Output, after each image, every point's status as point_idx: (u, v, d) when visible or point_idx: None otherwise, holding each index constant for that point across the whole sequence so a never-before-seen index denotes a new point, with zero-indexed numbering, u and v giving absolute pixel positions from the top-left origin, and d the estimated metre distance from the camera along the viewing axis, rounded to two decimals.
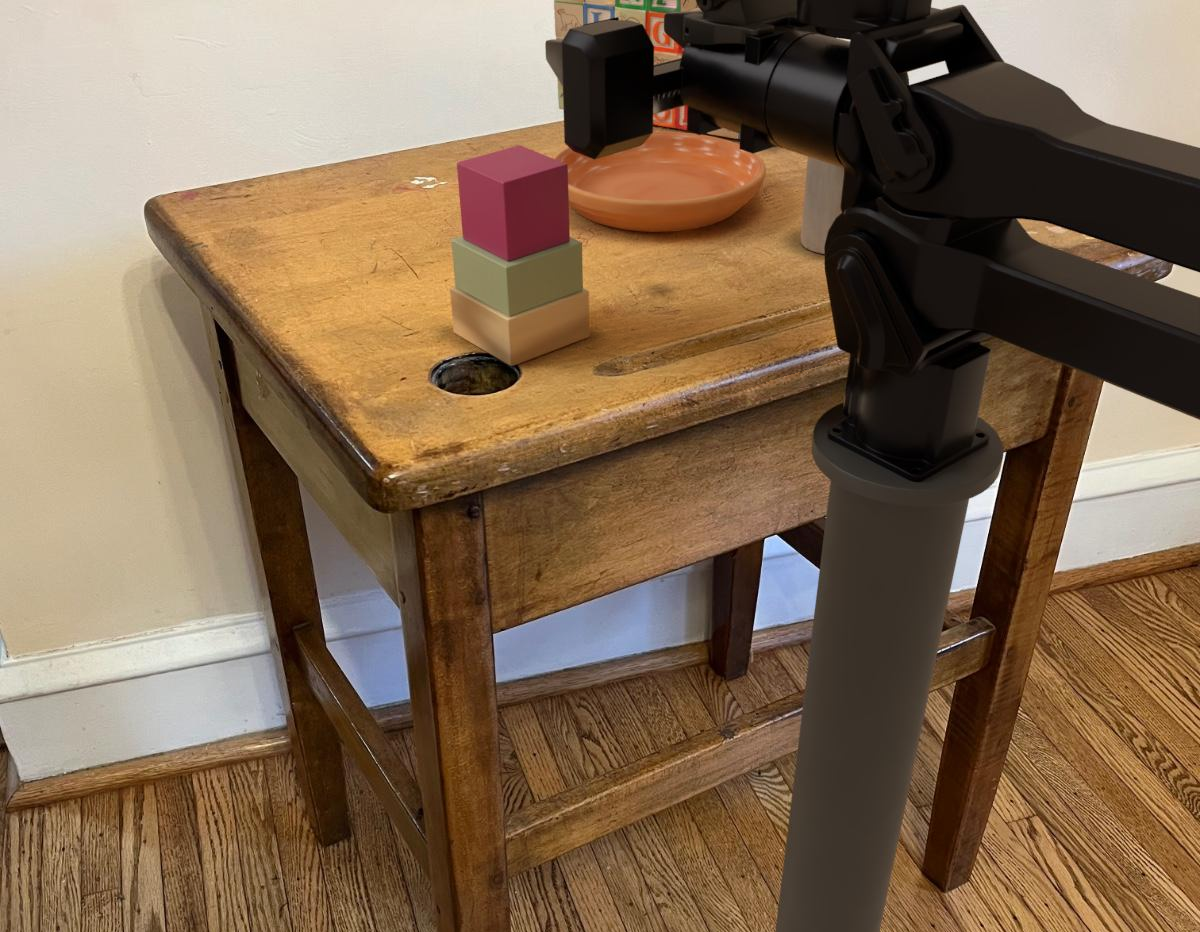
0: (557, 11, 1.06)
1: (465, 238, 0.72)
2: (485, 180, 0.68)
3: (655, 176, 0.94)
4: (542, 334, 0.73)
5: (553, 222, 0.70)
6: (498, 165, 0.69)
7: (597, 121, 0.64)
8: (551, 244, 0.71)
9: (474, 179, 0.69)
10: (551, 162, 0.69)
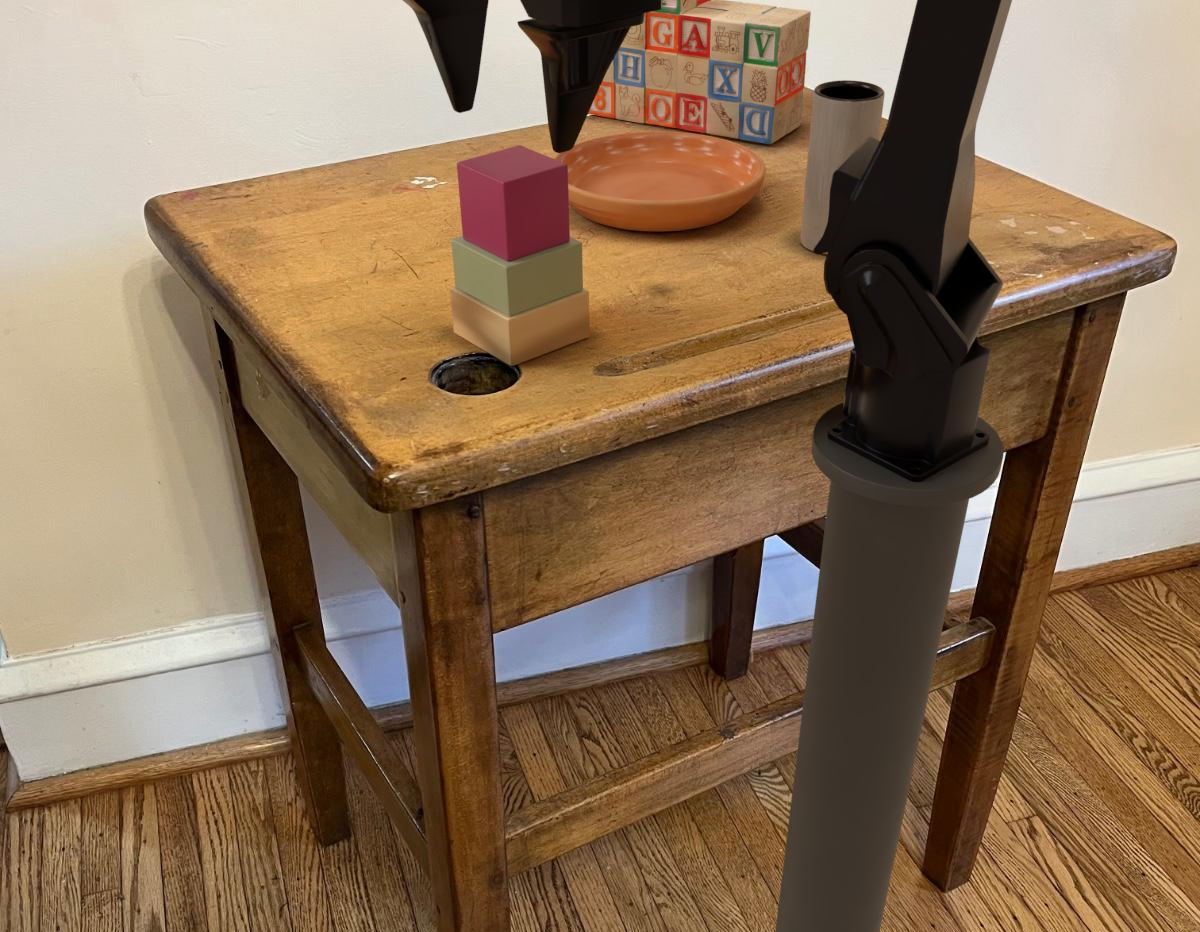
0: None
1: (465, 238, 0.72)
2: (485, 180, 0.68)
3: (655, 176, 0.94)
4: (542, 334, 0.73)
5: (553, 222, 0.70)
6: (498, 165, 0.69)
7: None
8: (551, 244, 0.71)
9: (474, 179, 0.69)
10: (551, 162, 0.69)
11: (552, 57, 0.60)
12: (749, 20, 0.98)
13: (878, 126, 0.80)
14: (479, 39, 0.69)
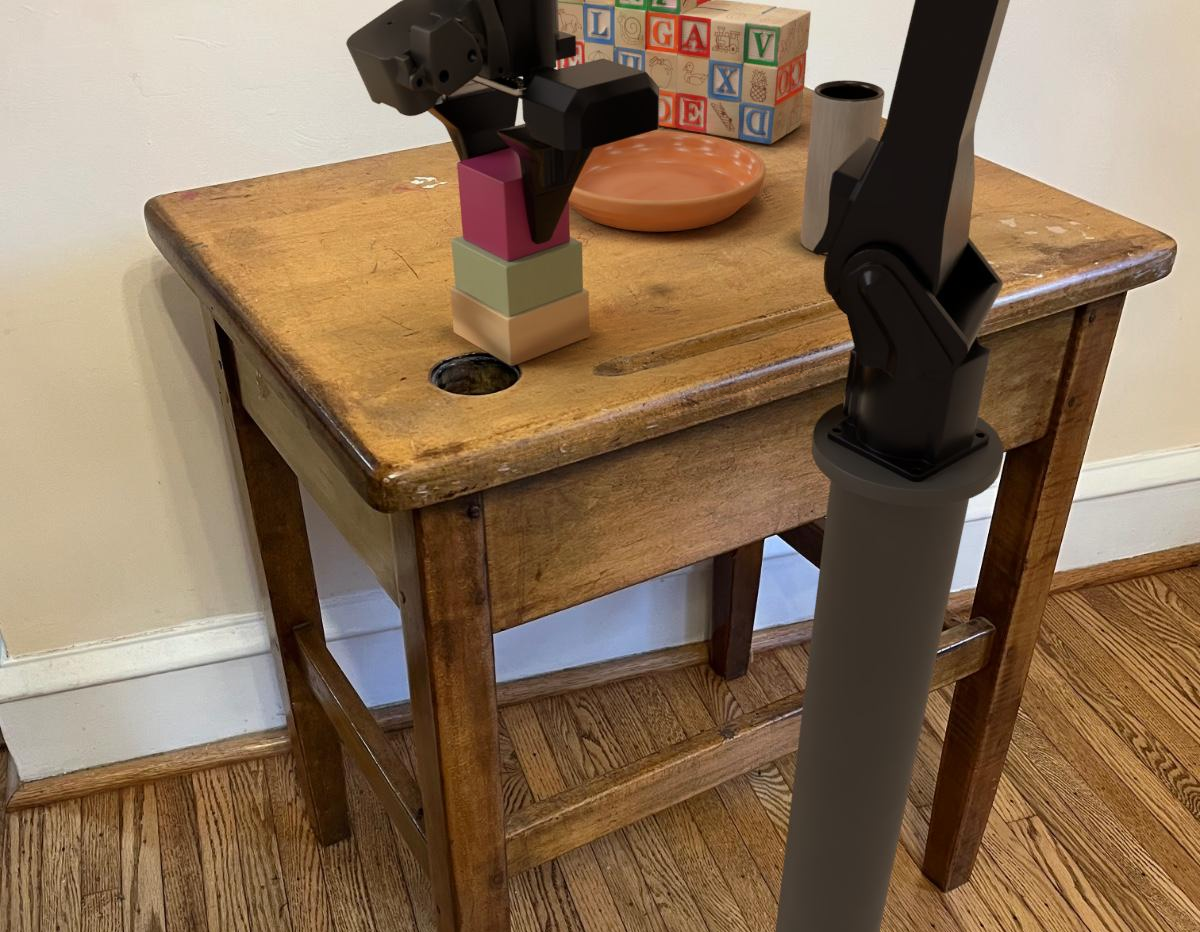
0: None
1: (465, 238, 0.72)
2: (486, 180, 0.68)
3: (655, 176, 0.94)
4: (542, 334, 0.73)
5: None
6: (498, 165, 0.69)
7: (630, 84, 0.60)
8: (551, 244, 0.71)
9: (474, 179, 0.69)
10: None
11: (529, 161, 0.65)
12: (749, 20, 0.98)
13: (878, 126, 0.80)
14: None
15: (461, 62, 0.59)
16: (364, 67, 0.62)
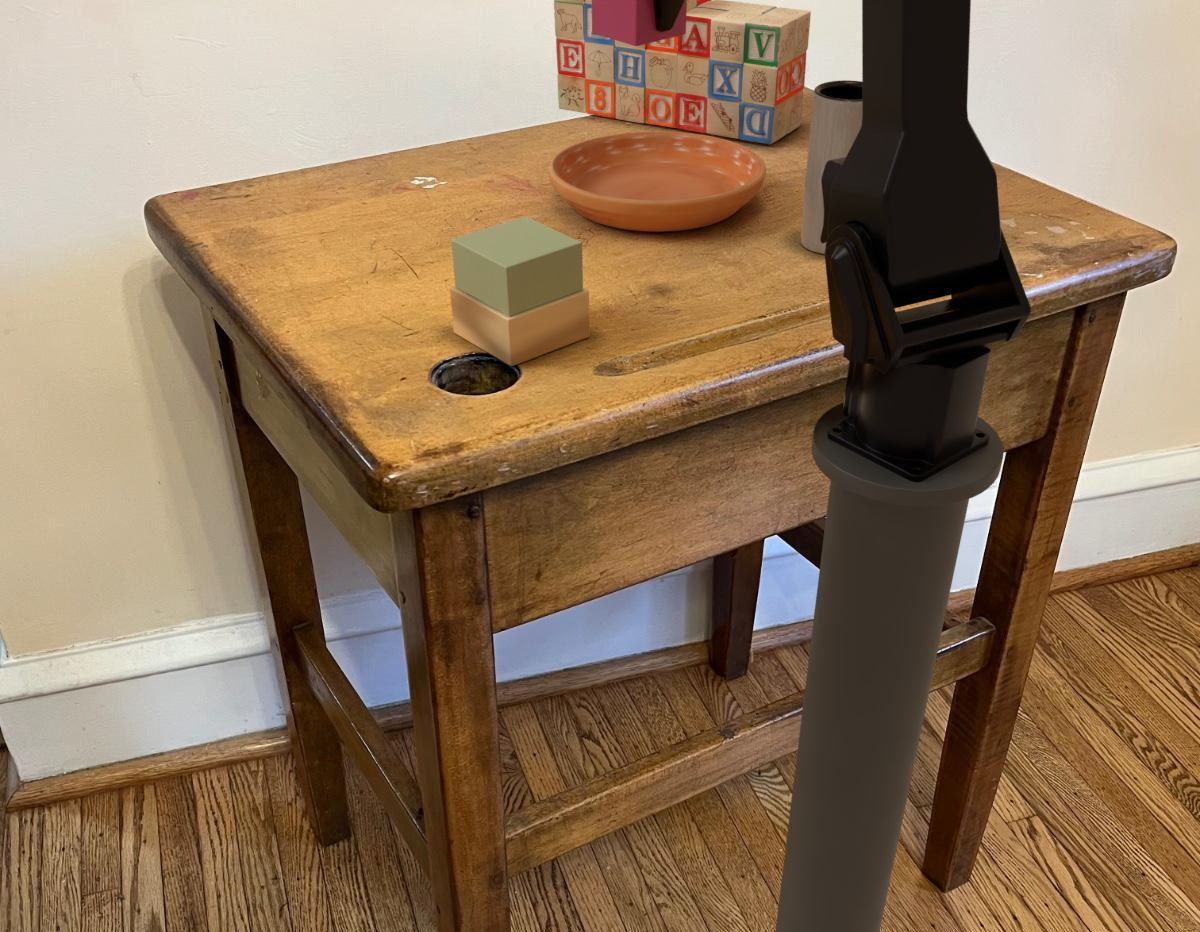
0: (557, 11, 1.06)
1: (594, 31, 0.83)
2: None
3: (655, 176, 0.94)
4: (542, 334, 0.73)
5: None
6: None
7: None
8: (671, 34, 0.82)
9: None
10: None
11: None
12: (749, 20, 0.98)
13: None
14: None
15: None
16: None
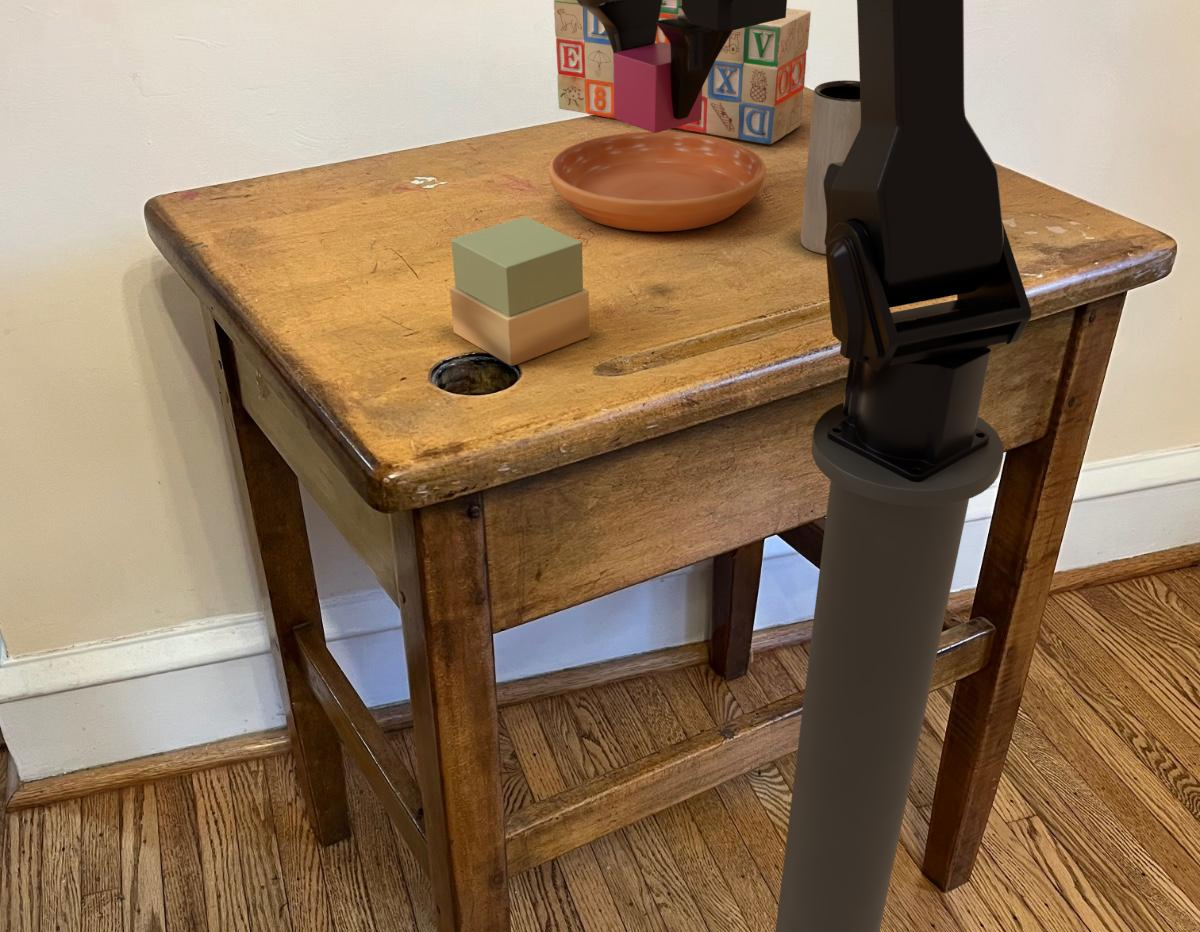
0: (557, 11, 1.06)
1: (616, 117, 0.89)
2: (639, 65, 0.85)
3: (655, 176, 0.94)
4: (542, 334, 0.73)
5: None
6: (648, 54, 0.86)
7: None
8: (687, 121, 0.88)
9: (629, 65, 0.86)
10: None
11: (680, 47, 0.82)
12: None
13: None
14: None
15: None
16: None
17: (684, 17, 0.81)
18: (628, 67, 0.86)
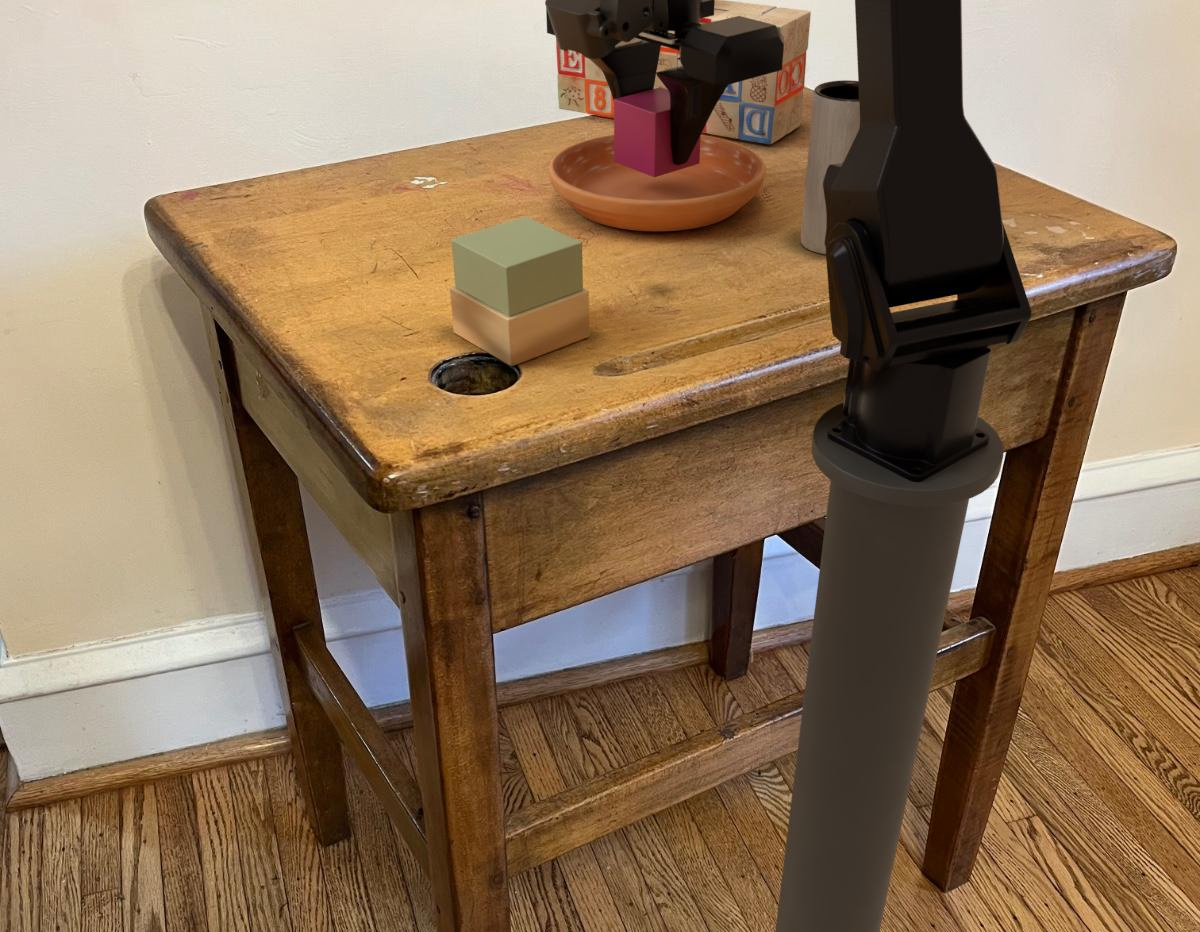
0: None
1: (616, 161, 0.91)
2: (639, 112, 0.87)
3: None
4: (542, 334, 0.73)
5: None
6: (647, 101, 0.88)
7: (764, 34, 0.79)
8: (686, 165, 0.90)
9: (629, 111, 0.88)
10: None
11: (679, 97, 0.84)
12: None
13: None
14: None
15: (638, 17, 0.78)
16: (559, 21, 0.81)
17: (683, 68, 0.83)
18: (628, 113, 0.88)
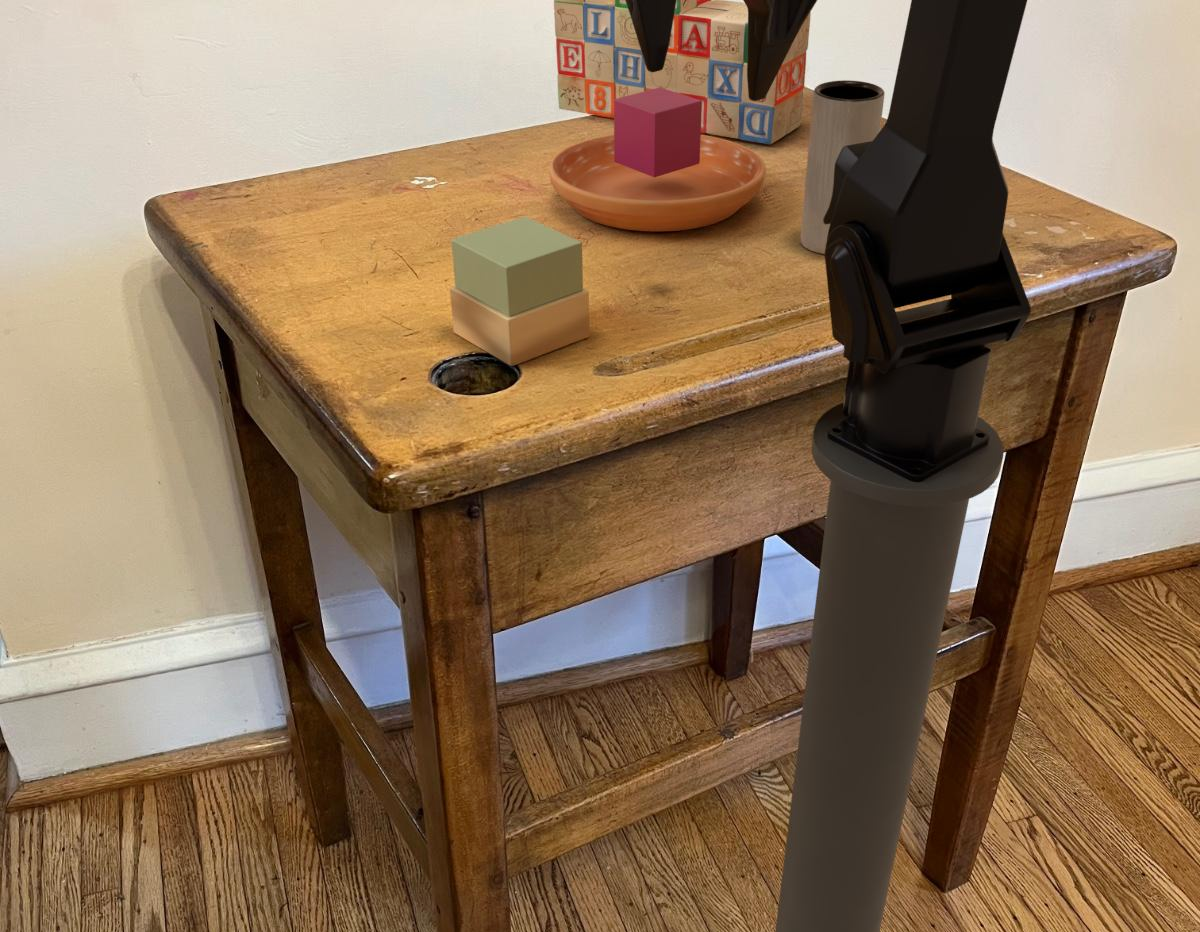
0: (557, 11, 1.06)
1: (616, 161, 0.91)
2: (639, 112, 0.87)
3: None
4: (542, 334, 0.73)
5: (688, 147, 0.89)
6: (647, 101, 0.88)
7: None
8: (686, 165, 0.90)
9: (629, 112, 0.88)
10: (689, 99, 0.88)
11: (760, 13, 0.69)
12: None
13: (878, 126, 0.80)
14: (672, 6, 0.79)
15: None
16: None
17: None
18: (628, 113, 0.88)
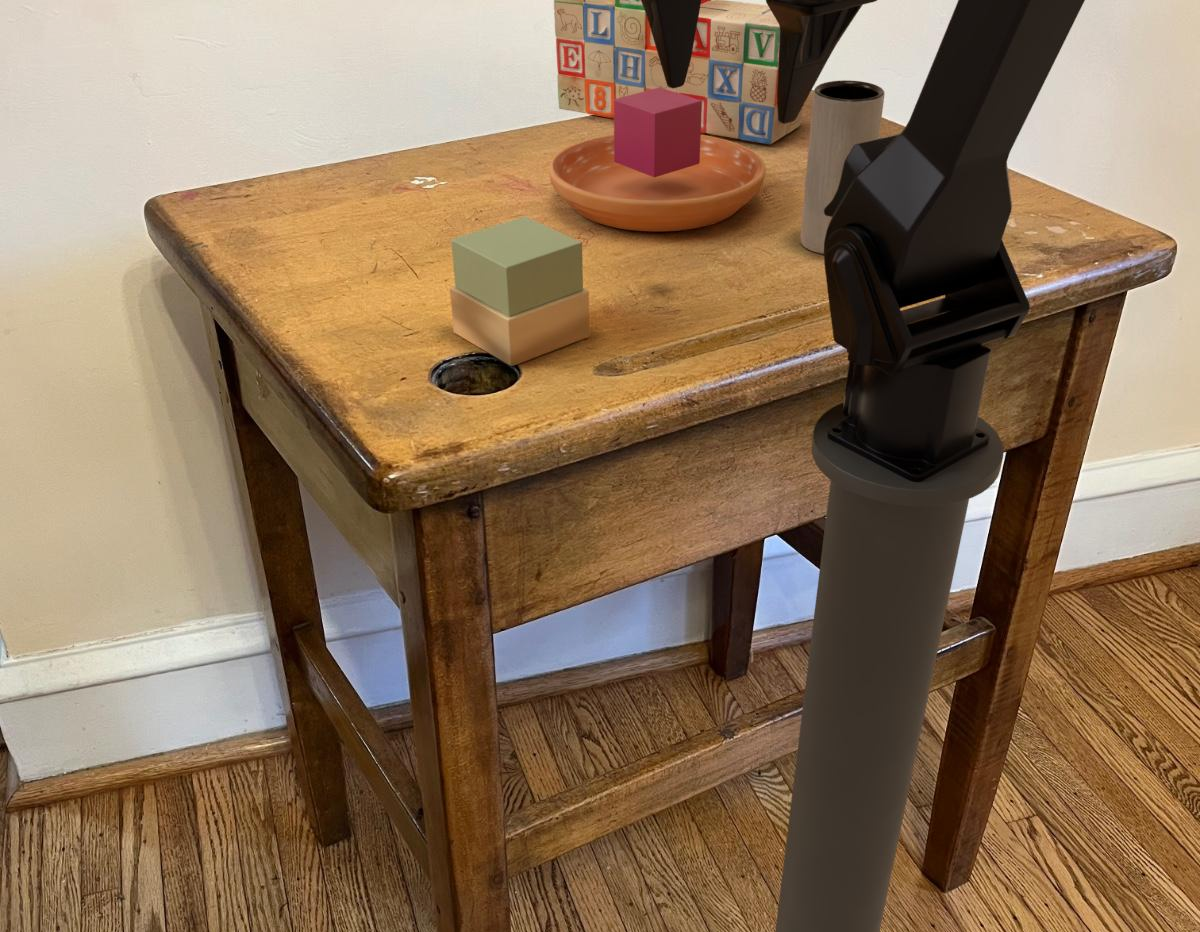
0: (557, 11, 1.06)
1: (616, 161, 0.91)
2: (639, 112, 0.87)
3: None
4: (542, 334, 0.73)
5: (688, 147, 0.89)
6: (647, 101, 0.88)
7: None
8: (686, 165, 0.90)
9: (629, 112, 0.88)
10: (689, 99, 0.88)
11: (793, 32, 0.65)
12: (749, 20, 0.98)
13: (878, 126, 0.80)
14: (694, 18, 0.74)
15: None
16: None
17: None
18: (628, 113, 0.88)
